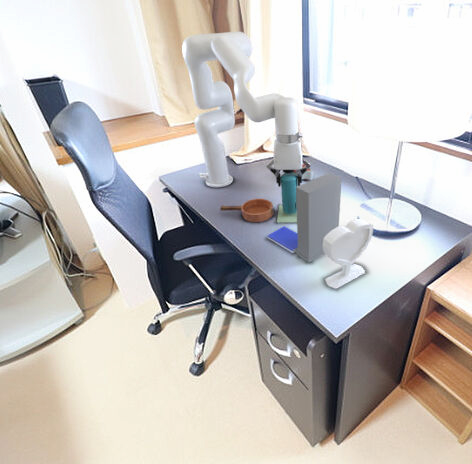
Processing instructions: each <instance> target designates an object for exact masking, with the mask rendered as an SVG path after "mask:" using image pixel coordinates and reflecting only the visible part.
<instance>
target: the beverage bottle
mask: <svg viewBox="0 0 472 464" xmlns="http://www.w3.org/2000/svg"><path fill="white" fill-rule="evenodd" d="M293 172H294V170H282V173H283V174H281V186H280V188H281V203H282V204H281V205H282V208H283V211H284V212H285V213H287V214H293V213H296V212H297V203H296V187H297V186H298V176H297V175H296V174H294V173H293Z"/></svg>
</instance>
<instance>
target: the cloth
mask: <svg viewBox="0 0 472 464" xmlns="http://www.w3.org/2000/svg"><path fill="white" fill-rule="evenodd" d="M277 212H278V213H277V217H276V223H277V224H297V212H296V213H293V214H287V213H285V212H284V211H283V208H282V204H279V205H278V211H277Z"/></svg>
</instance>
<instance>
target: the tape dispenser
mask: <svg viewBox="0 0 472 464" xmlns="http://www.w3.org/2000/svg"><path fill="white" fill-rule="evenodd" d="M304 167H305V165H304V164H302V168H301V169H303V168H304ZM314 172H315V171H314V170H312V169H311V167H310V168H309V169H308V170H307V171H306V172H305V173H304V174H303V175H302V180H305V181H311V180H314ZM293 173H294V174H296V175H297V177H298V173H297V171H296V170H294V172H293Z"/></svg>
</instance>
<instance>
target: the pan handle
mask: <svg viewBox="0 0 472 464" xmlns="http://www.w3.org/2000/svg"><path fill="white" fill-rule="evenodd" d="M241 207H242V205H220V211H241Z"/></svg>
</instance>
